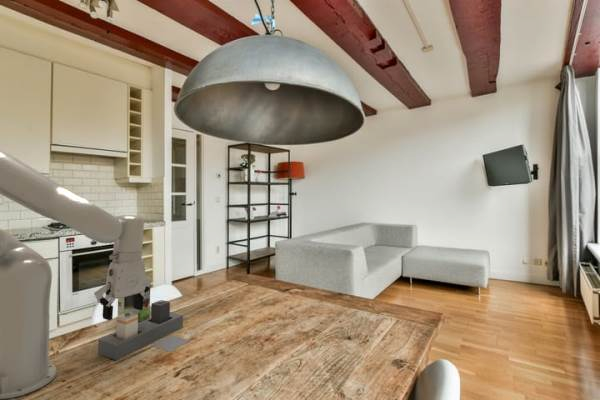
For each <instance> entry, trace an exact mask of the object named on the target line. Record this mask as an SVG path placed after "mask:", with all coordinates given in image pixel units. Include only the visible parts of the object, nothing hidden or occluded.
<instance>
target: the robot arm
mask: <svg viewBox="0 0 600 400" xmlns="http://www.w3.org/2000/svg"><path fill="white" fill-rule="evenodd" d="M0 195H1V196H3V197H5V198H6V199H9V200H11V201H13V202H15V203H16V204H19V205H20V206H23V207H24V208H26V209H29V210H30V211H32V212H34V213H36V214H38V215H39V216H42V217H45V218H48V219H51V220H53V221H55V222H57V223H61V224H63V225H65V226H67V227H68V228H71V229H72V230H74V231H76V232H79V233H80V234H82V235H84V236H85V238H88V239H89V240H92V241H95V242H97V243H99V244H111V243H113V250H112V254H110V255H109V256H108V258H109V260H112V261H111V262H110V264H109V265H108V271H107V274H106V280H105V285H103V286H102V287H100V288H99V289H97V290H96V291H95V292H94V297H95V298H96V300H97V302H98V303H99V304H100V305H101V306H102V319H103V320H105V321H112V320H113V317H114V316H113V315H114V313H113V312H114V305H113V304H114V301H115V300H116V299H117V300H118V299H119V298H124V297H127V296H131V295H135V294H137V295H136V296H135V299H134V309H137V310H143V299H144V297H145V296H146V292H147V291H148V290H149V287H150V288H151V286H150V285H152V282H153V281H152V280H151V279H149V278H146V275H147V274H146V264H145V260H144V259H142V257H143V255H142V254H143V241H144V229H145V228H144V227H145V220H144V217H142V216H140V215H134V214H131V215H130V214H126V215H125V214H121V215H113V214H111V213H109V211H108V212H107V211H106V210H104V209H103V208H101V207H99V206H98V205H96V204H94V202H93V203H92V202H91V201H89V200H87V199H85V198H84V197H82V196H80V195H78V194H76V193H74V192H73V191H72V190H70V189H68V188H67V187H65V186H63V185H61V184H60V183H58V182H57V181H55V180H53V179H51V178H49V177H48V176H46V175H45V174H43V173H42V172H40V171H38V170H36V169H35V168H33V167H32V166H30V165H28V164H26V163H25V162H23V161H21V160H19V159H18V158H16V157H14V156H13V155H12V154H9V153H7V152H5V151H3V150H0ZM52 278H53V272H52V268H51V265H50V263H49V262H48V260H47V259H46V258H45V257H43V255H41V254H40V253H38V251H36V250H35V249H32V248H31V247H29V246H28V245H26V244H25V243H23V242H21V240H18V239H17V238H15V237H14V236H12V235H10V234H9V233H8V232H6V231H5V230H3V229H1V228H0V400H7V399H13V398H16V397H21V396H24V395H26V394H30V393H33V392H34V391H36V390H39V389H41V388H42V387H45V386H46V385H47V384H49V383H50V382H51V381H52V380H54V379H55V378H56V376H57V373H58V372H57V369H58V368H57V367H56V366H55V365H53V364H51V363H50V319H51V318H50V316H51V315H50V308H51V307H50V305H51V303H50V301H51V299H50V298H51V289H52V288H51V287H52V281H53V279H52ZM104 294H105V297H104Z"/></svg>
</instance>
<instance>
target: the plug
mask: <svg viewBox="0 0 600 400" xmlns="http://www.w3.org/2000/svg"><path fill="white" fill-rule="evenodd" d="M115 322H116V323H115V325H116V331H115V332H116V337H117V338H120V339H123V340H126V339H128V338H130V337H132V336H135V335H137V334H138V314H135V313H131V312H127V313H125V314H122V315H119V316H118V315H117V316H116V318H115Z"/></svg>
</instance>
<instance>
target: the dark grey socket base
mask: <svg viewBox="0 0 600 400" xmlns="http://www.w3.org/2000/svg"><path fill="white" fill-rule="evenodd" d="M183 324H184V316H183V314H180V313H176V312H171V311H170V320H168V321H166V322H163V323H161V324H157V323H153V322H151V317H150V318H148V319H146V320H144V321H141V322H139V323H138V334H137V335H135V336H132V337H130V338H128V339H126V340H123V339H120V338H117V337H116V331H115V332H113V333H111V334H108V335H105V336H103V337H101V338H99V339H98V340H97V341H98V349H97V353H98V355H101V356H103V357H106V358H109V359H111V360H114V361H118V360H120V359H123V358H125V357H126V356H128V355H130V354H132V353H134V352H136V351H138V350H140V349H142V348H144V347H147V346H148V345H150V344H152V343H154V342H156V341H158V340H160V339H162V338H165V337H166V336H168V335H170V334H172V333H174V332H176V331H178V330H179V329H182V328H183V327H184V325H183Z"/></svg>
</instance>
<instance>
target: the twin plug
mask: <svg viewBox="0 0 600 400" xmlns="http://www.w3.org/2000/svg"><path fill="white" fill-rule="evenodd" d="M170 309H171V302H170V301H167V300H164V299H160V300H158V301H154V302H153V303H152V302H151V303H150V310H151V311H150V314H151V315H150V318H151V322H153V323H157V324H161V323H163V322H166V321H168V320H170V312H171V310H170Z"/></svg>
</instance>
